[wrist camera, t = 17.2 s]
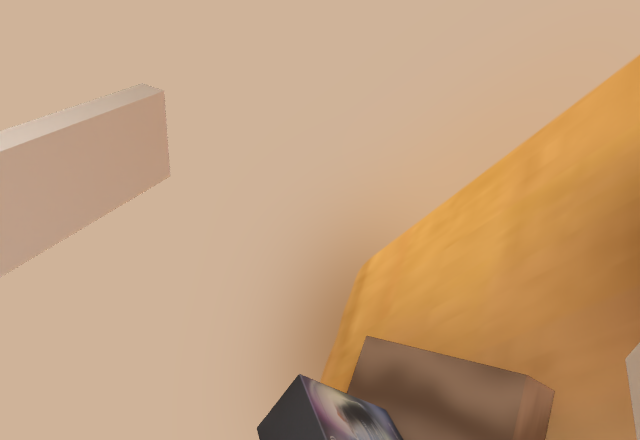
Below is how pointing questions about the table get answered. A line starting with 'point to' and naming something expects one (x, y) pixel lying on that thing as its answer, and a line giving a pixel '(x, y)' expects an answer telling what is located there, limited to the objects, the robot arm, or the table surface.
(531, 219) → the table surface
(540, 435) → the base brick
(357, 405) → the small box
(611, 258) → the table surface
